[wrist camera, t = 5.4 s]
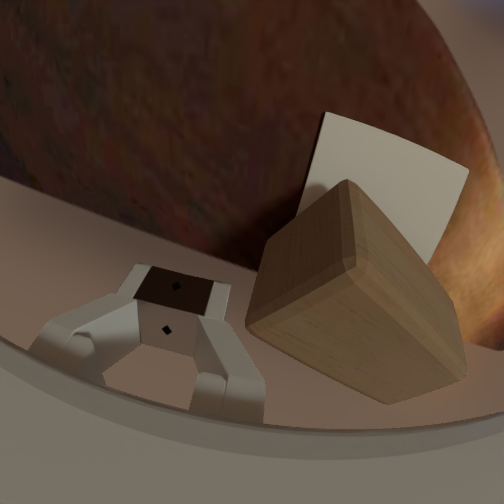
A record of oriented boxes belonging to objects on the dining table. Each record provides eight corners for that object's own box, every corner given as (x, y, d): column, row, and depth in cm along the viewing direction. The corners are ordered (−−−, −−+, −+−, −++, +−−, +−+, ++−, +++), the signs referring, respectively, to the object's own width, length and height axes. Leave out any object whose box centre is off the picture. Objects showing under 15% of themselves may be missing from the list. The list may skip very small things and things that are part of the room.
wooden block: (262, 238, 27) (383, 333, 33) (235, 331, 20) (385, 408, 26) (347, 169, 20) (453, 298, 27) (358, 263, 13) (470, 379, 19)
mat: (288, 241, 27) (288, 243, 26) (325, 111, 20) (326, 111, 20) (421, 272, 27) (422, 273, 27) (467, 169, 21) (469, 170, 21)
